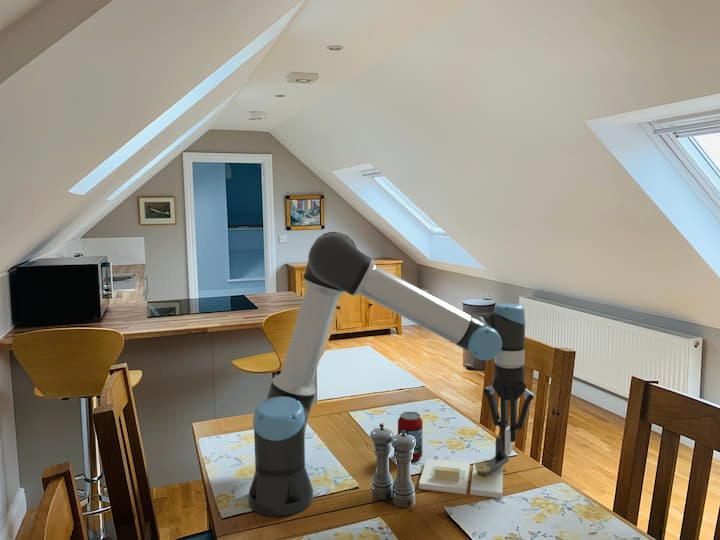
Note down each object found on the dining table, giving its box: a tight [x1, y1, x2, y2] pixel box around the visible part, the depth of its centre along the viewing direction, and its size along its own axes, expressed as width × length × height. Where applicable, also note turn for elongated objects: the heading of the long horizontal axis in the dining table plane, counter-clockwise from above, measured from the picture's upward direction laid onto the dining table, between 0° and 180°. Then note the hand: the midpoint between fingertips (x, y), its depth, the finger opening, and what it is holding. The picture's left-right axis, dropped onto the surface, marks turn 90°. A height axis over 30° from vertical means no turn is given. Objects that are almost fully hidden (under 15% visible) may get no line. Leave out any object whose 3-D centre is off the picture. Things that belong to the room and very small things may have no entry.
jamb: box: [470, 463, 504, 499], centre depth 145 cm, size 14×8×2 cm, turn 166°
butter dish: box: [418, 458, 471, 495], centre depth 147 cm, size 14×12×4 cm
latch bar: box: [474, 435, 510, 478], centre depth 148 cm, size 13×4×7 cm, turn 138°
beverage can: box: [397, 411, 423, 462], centre depth 159 cm, size 7×7×12 cm
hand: (508, 452), depth 150 cm, fingers closed
